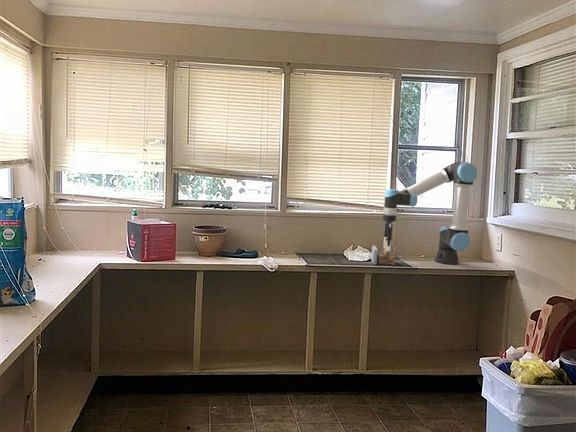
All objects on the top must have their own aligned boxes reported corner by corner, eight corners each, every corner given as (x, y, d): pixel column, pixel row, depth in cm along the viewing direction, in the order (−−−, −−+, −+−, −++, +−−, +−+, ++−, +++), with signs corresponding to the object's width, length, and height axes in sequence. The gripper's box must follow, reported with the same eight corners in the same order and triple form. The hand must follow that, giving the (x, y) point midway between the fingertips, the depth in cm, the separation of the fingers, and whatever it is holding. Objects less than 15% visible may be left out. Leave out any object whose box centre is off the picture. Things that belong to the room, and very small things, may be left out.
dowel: (387, 260, 373) (389, 239, 372) (388, 261, 370) (390, 240, 369) (382, 260, 373) (384, 239, 372) (383, 261, 370) (385, 240, 369)
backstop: (374, 259, 380) (375, 245, 379) (376, 264, 364) (377, 250, 363) (370, 259, 380) (372, 245, 379) (373, 264, 364) (374, 249, 363)
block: (392, 261, 376) (393, 253, 376) (394, 264, 366) (395, 256, 366) (376, 260, 377) (377, 252, 376) (378, 263, 367) (378, 255, 366)
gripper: (381, 211, 380) (378, 245, 383) (385, 216, 356) (382, 252, 359) (393, 212, 380) (390, 246, 383) (398, 217, 356) (395, 253, 358)
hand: (386, 249), depth 371 cm, fingers open, 12 cm apart
